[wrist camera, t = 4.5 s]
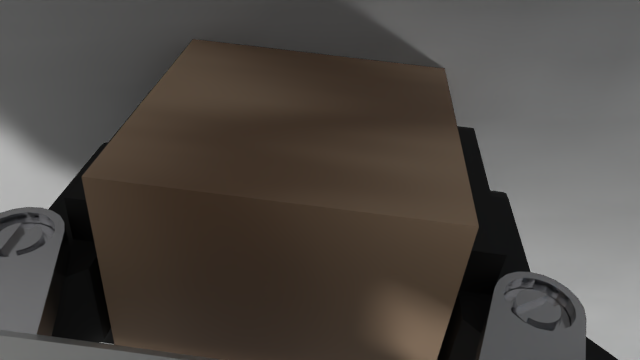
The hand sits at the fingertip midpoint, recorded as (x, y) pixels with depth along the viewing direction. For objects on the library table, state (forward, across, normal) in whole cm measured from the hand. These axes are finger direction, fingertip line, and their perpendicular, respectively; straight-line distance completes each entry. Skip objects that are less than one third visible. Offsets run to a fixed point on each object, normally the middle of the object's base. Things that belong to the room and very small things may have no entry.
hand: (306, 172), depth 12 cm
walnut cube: (+1, 0, 0) cm, 1 cm away
